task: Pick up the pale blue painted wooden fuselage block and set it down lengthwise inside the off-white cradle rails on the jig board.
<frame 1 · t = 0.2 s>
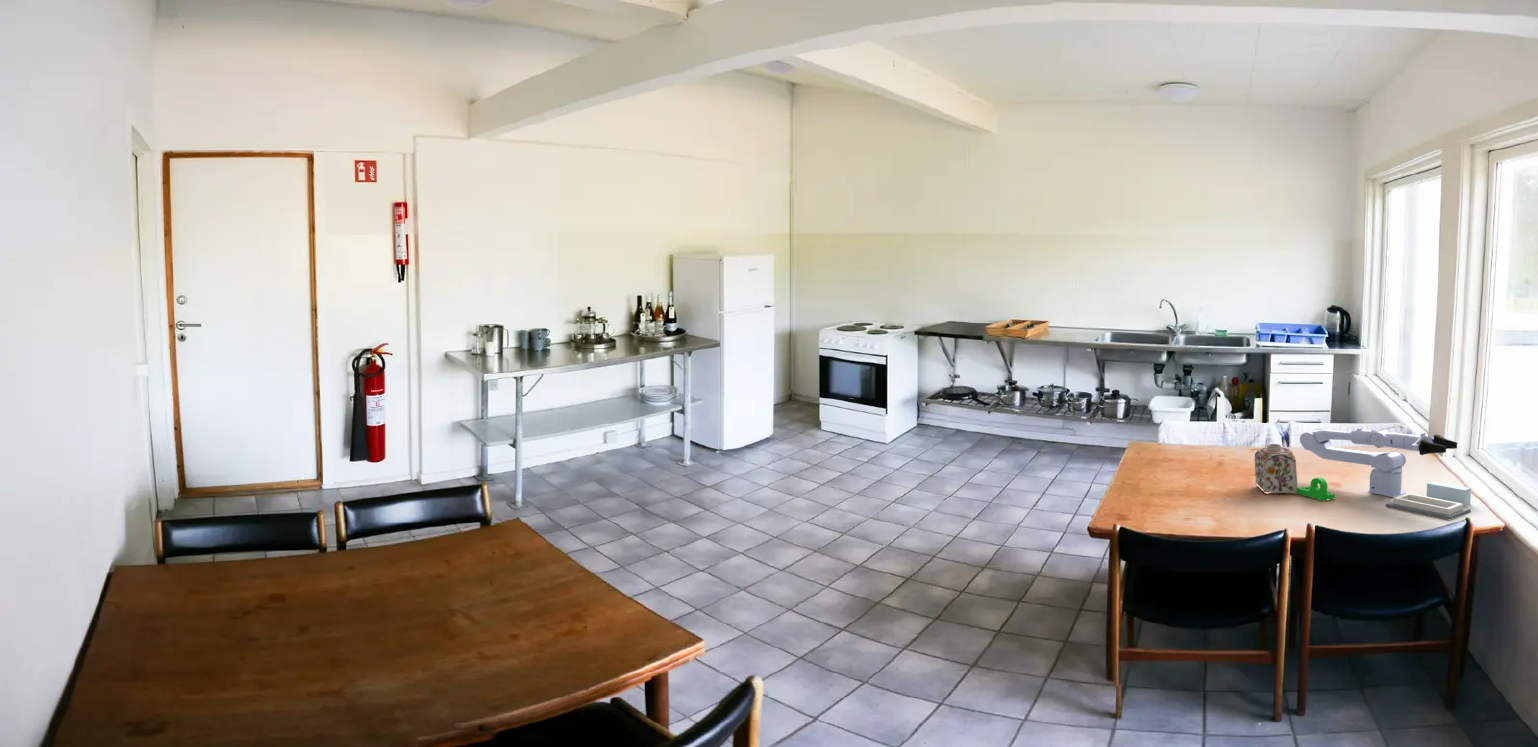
hand: (1451, 447, 313), 21 cm above the table, tool horizontal, fingers open, 7 cm apart
cradle jig: (1427, 509, 314), on the table
mechanical part: (1314, 496, 336), on the table, touching decorative jar
decorative jar: (1276, 490, 346), on the table, touching mechanical part
fuselage block: (1448, 501, 321), on the table
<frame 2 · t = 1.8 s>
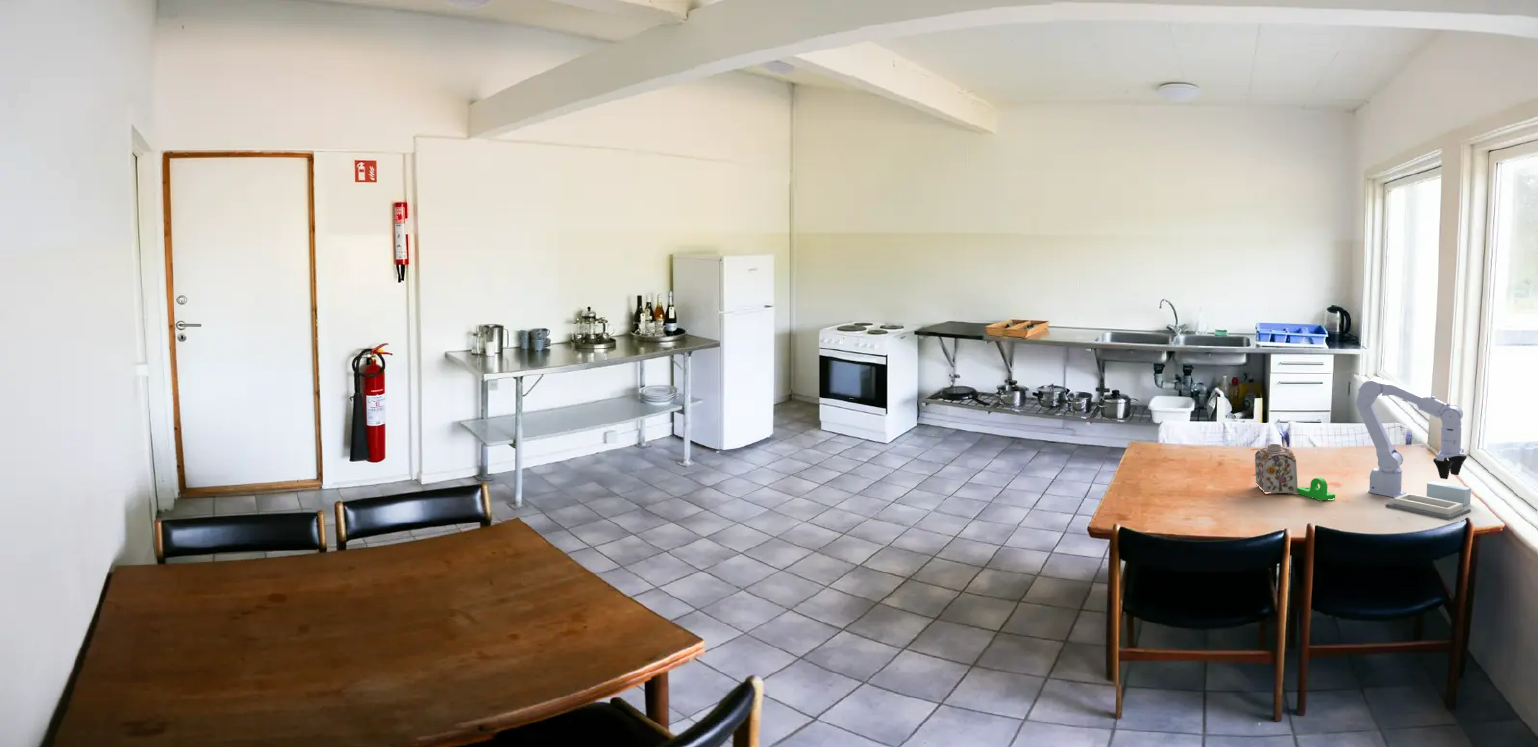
hand: (1449, 476, 320), 9 cm above the table, tool pointing down, fingers open, 7 cm apart
decorative jar: (1276, 490, 346), on the table, touching mechanical part
everything else where it was.
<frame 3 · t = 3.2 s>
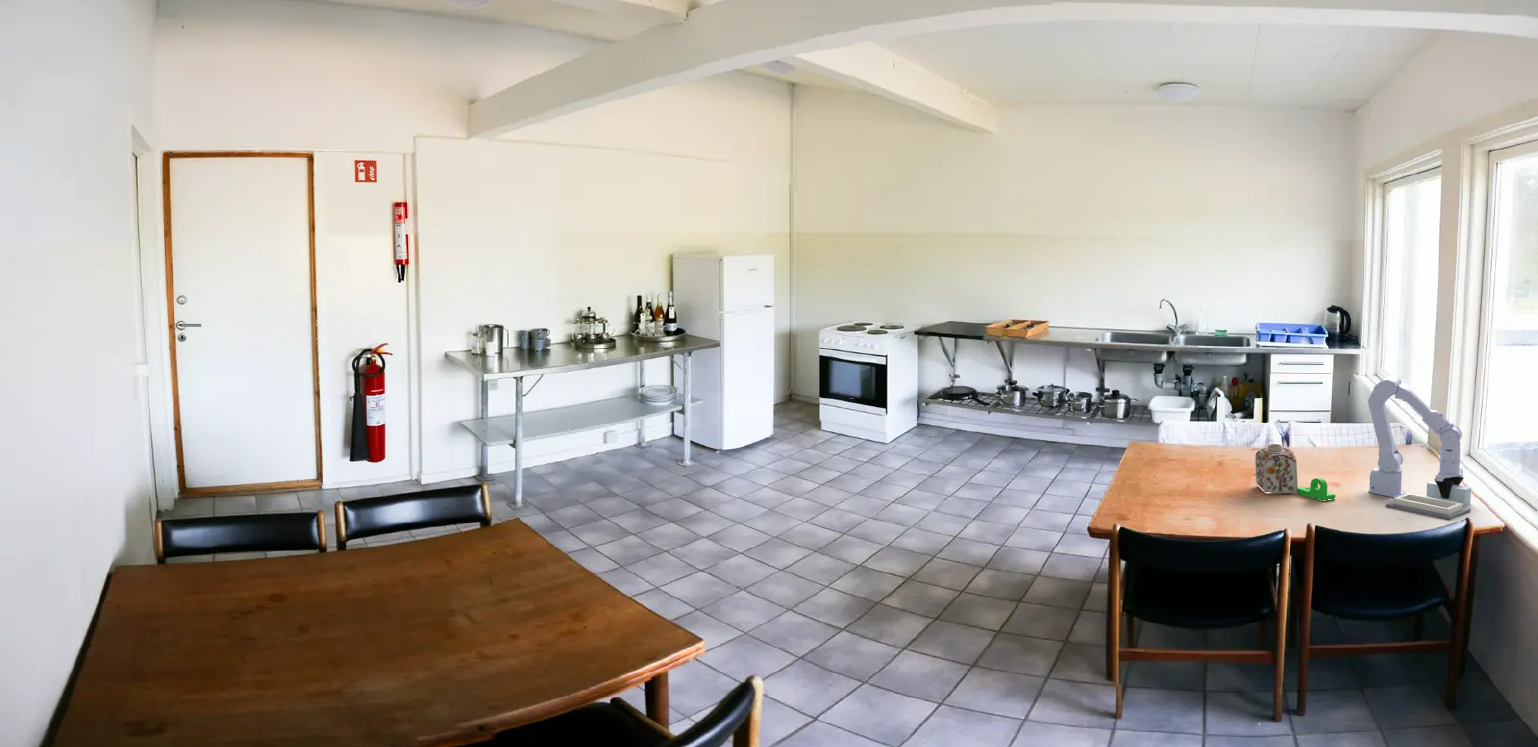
hand: (1448, 496, 321), 2 cm above the table, tool pointing down, fingers closed on fuselage block, 4 cm apart
fuselage block: (1448, 501, 321), on the table, touching gripper
everything else where it was.
when the fingers open (4 cm above the table, at t = 6.6 s): fuselage block drops 1 cm, resting on cradle jig.
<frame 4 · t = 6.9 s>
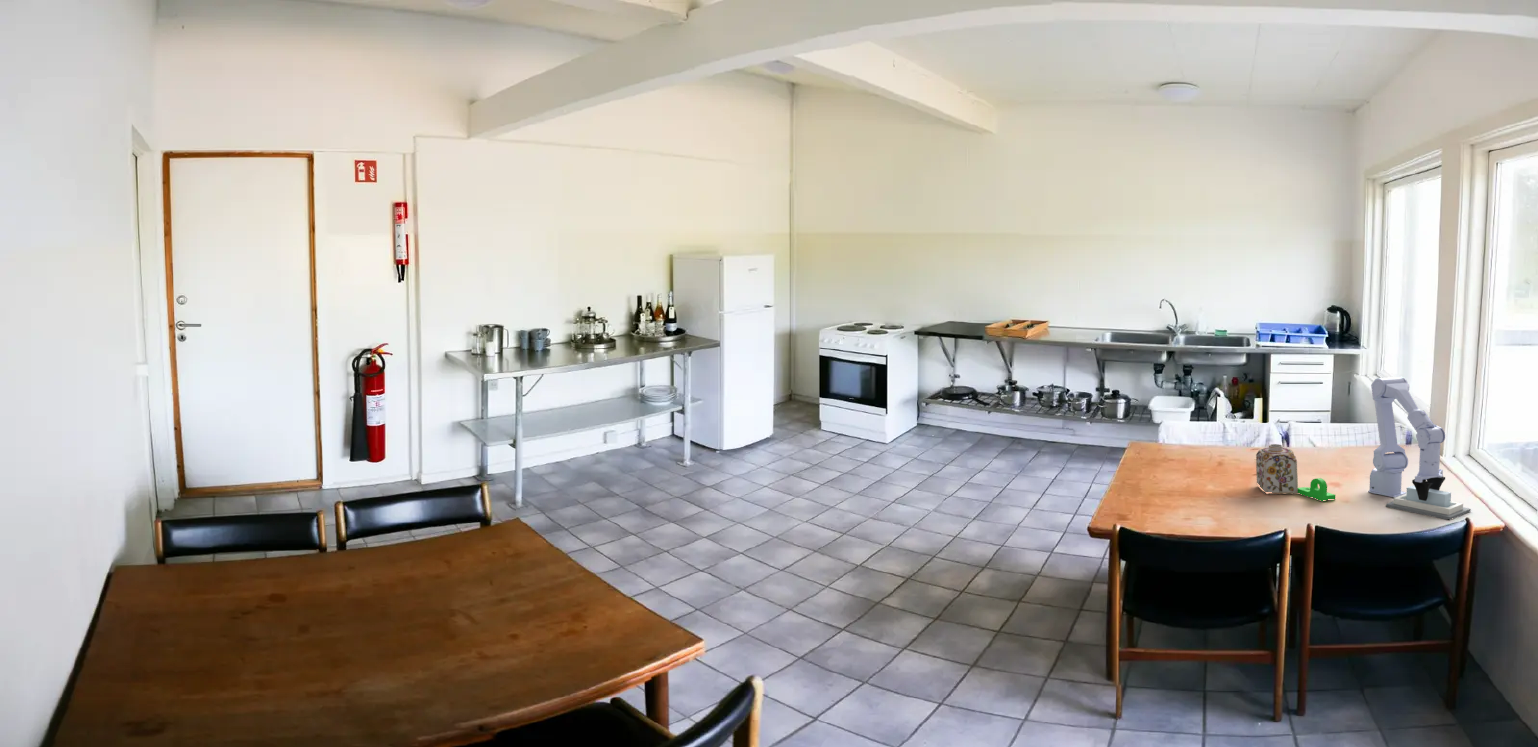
hand: (1427, 498, 314), 4 cm above the table, tool pointing down, fingers open, 6 cm apart
fuselage block: (1427, 506, 314), point 1 cm above the table, touching cradle jig
everything else where it was.
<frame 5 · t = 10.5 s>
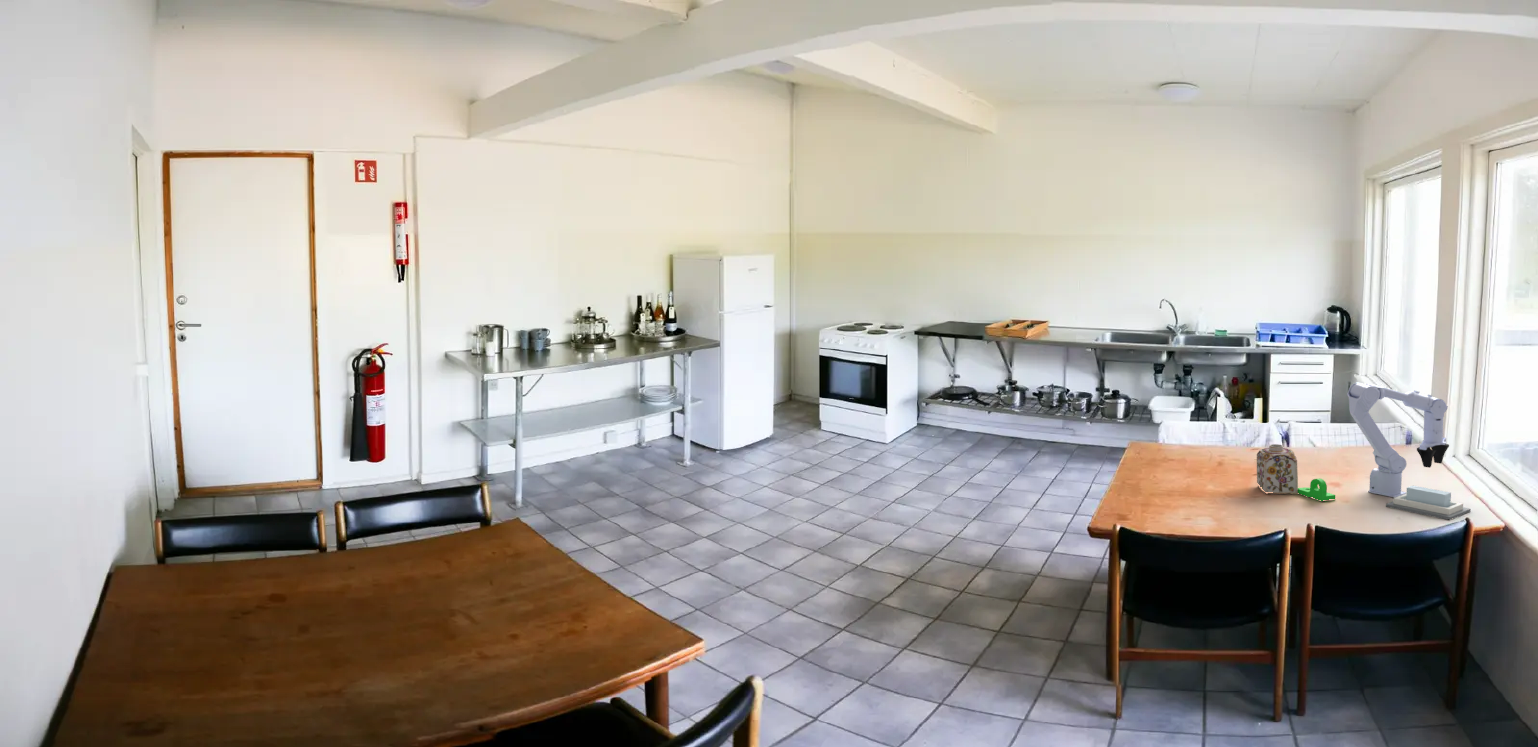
hand: (1432, 465, 330), 10 cm above the table, tool pointing down, fingers open, 7 cm apart
nothing on the table moved.
at the end: fuselage block 0.1 cm off-centre on the cradle jig, point 1.0 cm above the cradle jig's base; fuselage block tilted 0°; the gripper is holding nothing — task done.
